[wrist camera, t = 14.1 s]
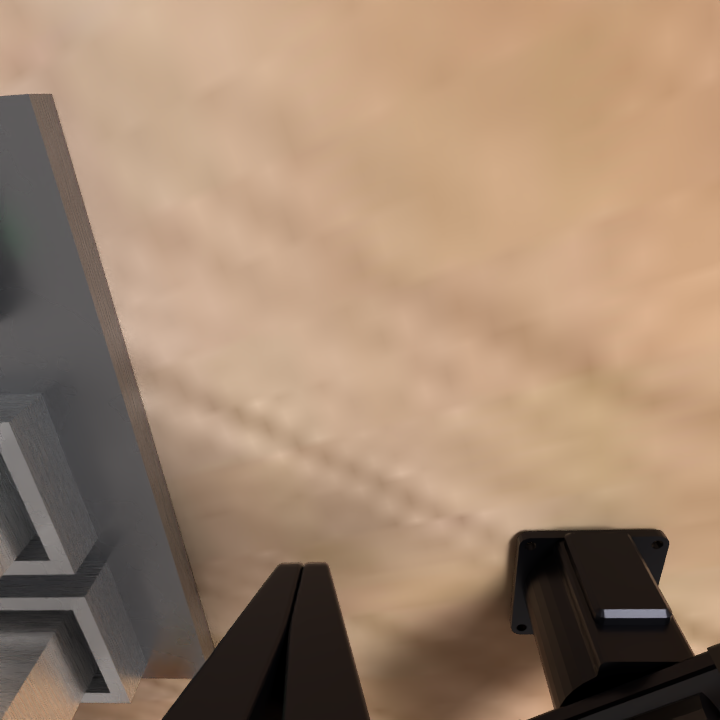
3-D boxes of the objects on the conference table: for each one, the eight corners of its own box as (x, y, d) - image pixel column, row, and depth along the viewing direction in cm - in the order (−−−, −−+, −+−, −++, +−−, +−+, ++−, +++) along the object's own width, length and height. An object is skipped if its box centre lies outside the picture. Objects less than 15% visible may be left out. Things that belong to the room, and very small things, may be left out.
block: (109, 644, 27) (27, 807, 21) (28, 644, 28) (-76, 805, 21) (83, 585, 25) (-15, 745, 19) (-3, 585, 26) (-128, 744, 19)
